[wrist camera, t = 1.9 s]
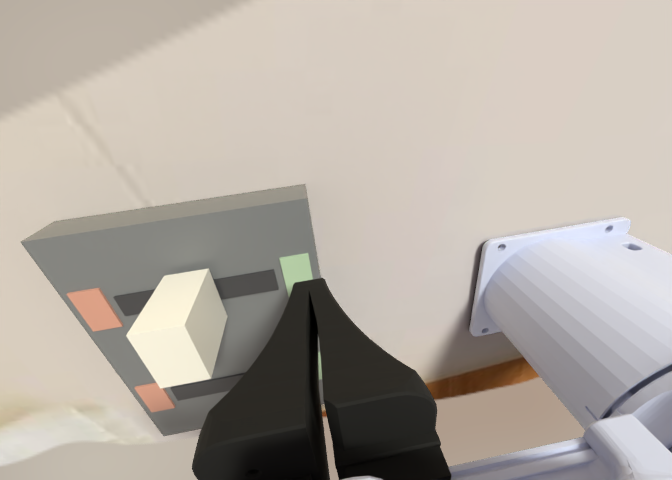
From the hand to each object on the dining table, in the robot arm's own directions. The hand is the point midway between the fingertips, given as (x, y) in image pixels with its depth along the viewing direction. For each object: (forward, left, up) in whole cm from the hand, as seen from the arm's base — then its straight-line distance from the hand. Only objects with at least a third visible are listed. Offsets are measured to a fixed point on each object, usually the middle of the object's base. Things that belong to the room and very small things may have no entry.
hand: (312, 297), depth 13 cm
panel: (+5, +4, -4) cm, 8 cm away
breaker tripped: (+5, 0, -2) cm, 6 cm away
